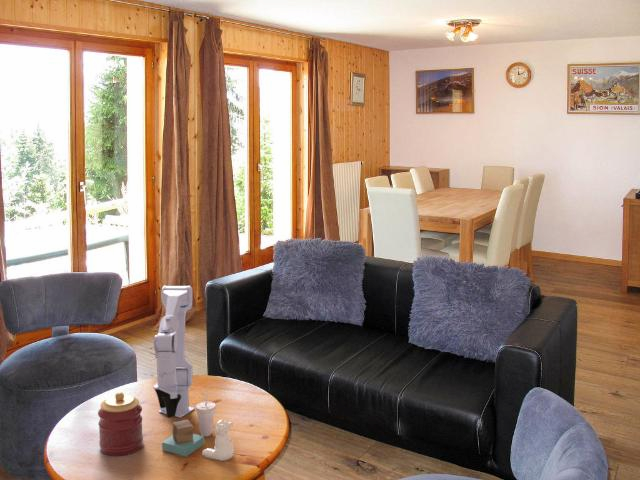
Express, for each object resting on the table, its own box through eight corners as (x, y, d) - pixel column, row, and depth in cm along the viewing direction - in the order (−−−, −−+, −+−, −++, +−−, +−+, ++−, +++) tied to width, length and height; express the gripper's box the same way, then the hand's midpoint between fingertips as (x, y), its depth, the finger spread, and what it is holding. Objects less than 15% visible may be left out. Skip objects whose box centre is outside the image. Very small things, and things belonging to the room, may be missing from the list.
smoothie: (199, 439, 211) (198, 398, 209) (193, 431, 217) (192, 390, 214) (218, 435, 214) (218, 394, 212) (212, 427, 220) (211, 387, 217)
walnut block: (173, 437, 207) (172, 422, 206) (188, 434, 209) (187, 419, 209) (177, 444, 203) (177, 429, 202) (193, 440, 205) (192, 425, 204)
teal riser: (162, 449, 205) (162, 442, 204) (180, 437, 213) (180, 430, 212) (186, 456, 201) (186, 448, 200) (204, 443, 209) (203, 436, 208)
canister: (93, 444, 208) (90, 390, 204) (133, 432, 215) (131, 381, 212) (108, 461, 198) (105, 405, 194) (150, 448, 205) (148, 394, 202)
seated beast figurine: (227, 445, 208) (226, 409, 206) (243, 456, 202) (243, 419, 199) (201, 455, 202) (200, 418, 199) (217, 466, 195) (216, 428, 193)
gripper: (147, 365, 211) (148, 405, 214) (160, 381, 199) (161, 423, 201) (168, 361, 215) (169, 401, 217) (183, 376, 202) (184, 418, 205)
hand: (167, 411), depth 209 cm, fingers open, 7 cm apart
